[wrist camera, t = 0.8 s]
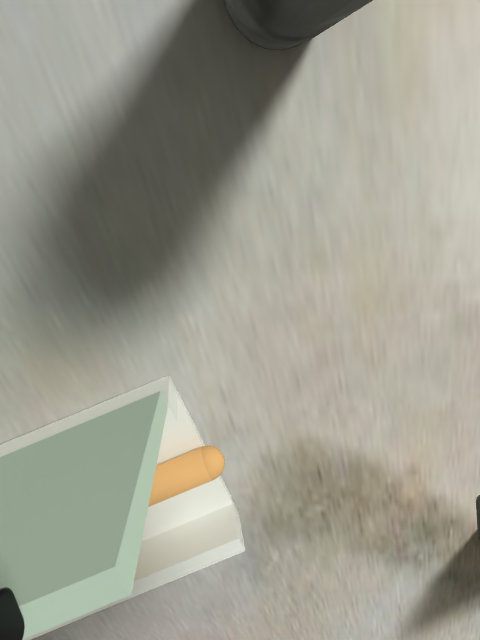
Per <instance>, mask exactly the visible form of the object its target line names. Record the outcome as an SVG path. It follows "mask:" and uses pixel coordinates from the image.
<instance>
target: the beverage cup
mask: <svg viewBox="0 0 480 640" xmlns="http://www.w3.org/2000/svg"><path fill="white" fill-rule="evenodd" d="M371 1H372V0H225V4H226V8H227V11H228V13H229V15H230V17H231V18H232V20H233V22H234V24H235V26H236V28H237V29H238V30H239V31H240V32H241V33H242V34H243V35H244V36H245V37H246V38H247V39H248V40H249V41H251V42H253V43H255V44H257V45H259V46H261V47H263V48H267V49H277V50H283V49H287V48H290V47H294V46H298V45H299V44H300V43H302V42H304V41H307V40H311V39H312V38H314V37H315V36H317V35H319V34H320V33H322V32H323V31H325V30H326V29H328V28H330V27H331V26H333V25H334V24H336V23H338V22H339V21H341V20H342V19H344V18H346V17H347V16H349V15H350V14H352V13H353V12H355V11H357V10H358V9H360V8H361V7H363V6H365V5H366V4H368V3H369V2H371Z"/></svg>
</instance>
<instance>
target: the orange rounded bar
mask: <svg viewBox="0 0 480 640" xmlns="http://www.w3.org/2000/svg"><path fill="white" fill-rule="evenodd" d="M224 465H225V461H224V456H223V454H222V453H221V451H220V450H219V449H217V448H216V447H213V446H203V447H200V448H198V449H195V450H193V451H191V452H188V453H186V454H183V455H181V456H179V457H176V458H174V459H171V460H169V461H166V462H164V463H162V464H159V465H157V466H156V470H155V475H154V480H153V485H152V491H151V496H150V501H149V506H148V507H150V506H152V505H154V504H157V503H159V502H162V501H164V500H167V499H169V498H171V497H174V496H176V495H179V494H181V493H183V492H186V491H188V490H191V489H193V488H196V487H198V486H200V485H203V484H205V483H208V482H210V481H212V480H214V479H216V478H218V477H219V476H220V475H221V473H222V472H223V469H224Z"/></svg>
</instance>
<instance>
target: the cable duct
mask: <svg viewBox="0 0 480 640" xmlns="http://www.w3.org/2000/svg"><path fill="white" fill-rule="evenodd" d="M159 391H161V393H162V395H163V397H164V399H165V401H166V403H167V405H168V408H167V413H166V419H165V424H164V429H163V434H162V439H161V444H160V449H159V455H158V460H157V465H159V464H162V463H164V462H166V461H169V460H171V459H174V458H176V457H179V456H181V455H183V454H186V453H188V452H191V451H193V450H195V449H198V448H200V447H203V446H205V444H204V442H203V440H202V438H201V436H200V434H199V432H198V430H197V428H196V426H195V424H194V422H193V420H192V418H191V416H190V414H189V413H188V411H187V409H186V407H185V405H184V403H183V401H182V399H181V397H180V395H179V393H178V391H177V389H176V387H175V385H174V383H173V381H172V379H171V377H170V375H168V376H165V377H163V378H160V379H158V380H155V381H153V382H151V383H148V384H146V385H143V386H141V387H139V388H136V389H134V390H131V391H129V392H126V393H124V394H122V395H119V396H117V397H114V398H112V399H109V400H107V401H105V402H102V403H100V404H97V405H95V406H93V407H90V408H88V409H85V410H83V411H80V412H78V413H76V414H73V415H71V416H68V417H66V418H63V419H61V420H59V421H56V422H54V423H51V424H49V425H47V426H44V427H42V428H39V429H37V430H34V431H32V432H30V433H27V434H25V435H22V436H20V437H17V438H15V439H13V440H10V441H8V442H5V443H3V444H1V445H0V457H2V456H4V455H6V454H9V453H11V452H14V451H16V450H19V449H21V448H23V447H26V446H28V445H31V444H33V443H36V442H38V441H40V440H43V439H45V438H48V437H50V436H52V435H55V434H57V433H60V432H62V431H65V430H67V429H69V428H72V427H74V426H77V425H79V424H82V423H84V422H86V421H89V420H91V419H94V418H96V417H98V416H101V415H103V414H106V413H108V412H111V411H113V410H115V409H118V408H120V407H123V406H125V405H127V404H130V403H132V402H135V401H137V400H140V399H142V398H144V397H147V396H149V395H152V394H154V393H157V392H159ZM157 465H156V466H157ZM244 551H245V547H244V541H243V535H242V530H241V524H240V519H239V513H238V508H237V506H236V504H235V502H234V501H233V499H232V497H231V495H230V493H229V491H228V489H227V487H226V485H225V483H224V481H223V479H222V477H221V475H220V476H219V477H218V478H216V479H214V480H212V481H210V482H208V483H205V484H203V485H200V486H198V487H196V488H193V489H191V490H188V491H186V492H183V493H181V494H179V495H176V496H174V497H171V498H169V499H167V500H164V501H162V502H159V503H157V504H154V505H152V506H150V507H148V511H147V516H146V521H145V527H144V532H143V537H142V542H141V547H140V552H139V557H138V563H137V568H136V573H135V578H134V583H133V588H132V593H131V595H129V596H127V597H125V598H122V599H120V600H117V601H115V602H112V603H110V604H108V605H105V606H103V607H100V608H98V609H96V610H93V611H91V612H88V613H86V614H83V615H81V616H79V617H76V618H74V619H71V620H69V621H67V622H64V623H62V624H59V625H57V626H55V627H52V628H50V629H47V630H45V631H42V632H40V633H38V634H35V635H33V636H30V637H28V638H26V639H23V640H31V639H34V638H36V637H38V636H41V635H43V634H46V633H48V632H50V631H53V630H55V629H58V628H60V627H62V626H65V625H67V624H70V623H72V622H75V621H77V620H79V619H82V618H84V617H87V616H89V615H91V614H94V613H96V612H99V611H101V610H104V609H106V608H108V607H111V606H113V605H116V604H118V603H120V602H123V601H125V600H128V599H130V598H133V597H135V596H137V595H140V594H142V593H145V592H147V591H149V590H152V589H154V588H157V587H159V586H161V585H164V584H166V583H169V582H171V581H174V580H176V579H178V578H181V577H183V576H186V575H188V574H190V573H193V572H195V571H198V570H200V569H203V568H205V567H207V566H210V565H212V564H215V563H217V562H219V561H222V560H224V559H227V558H229V557H232V556H234V555H236V554H239V553H241V552H244Z"/></svg>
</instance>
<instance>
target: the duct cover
mask: <svg viewBox="0 0 480 640" xmlns="http://www.w3.org/2000/svg"><path fill="white" fill-rule="evenodd" d="M167 408H168V405H167V403H166V401H165V399H164V397H163V395H162V393H161V391H159V392H157V393H154V394H152V395H149V396H147V397H144V398H142V399H140V400H137V401H135V402H132V403H130V404H127V405H125V406H123V407H120V408H118V409H115V410H113V411H111V412H108V413H106V414H103V415H101V416H98V417H96V418H94V419H91V420H89V421H86V422H84V423H82V424H79V425H77V426H74V427H72V428H69V429H67V430H65V431H62V432H60V433H57V434H55V435H52V436H50V437H48V438H45V439H43V440H40V441H38V442H36V443H33V444H31V445H28V446H26V447H23V448H21V449H19V450H16V451H14V452H11V453H9V454H6V455H4V456H2V457H0V588H4V587H7V588H10V589H11V590H12V591H13V593H14V596H15V598H16V601H17V603H18V606H19V608H20V611H21V613H22V616H23V618H24V624H25V630H24V636H23V639H26V638H28V637H30V636H33V635H35V634H38V633H40V632H42V631H45V630H47V629H50V628H52V627H55V626H57V625H59V624H62V623H64V622H67V621H69V620H71V619H74V618H76V617H79V616H81V615H83V614H86V613H88V612H91V611H93V610H96V609H98V608H100V607H103V606H105V605H108V604H110V603H112V602H115V601H117V600H120V599H122V598H125V597H127V596H129V595H131V593H132V588H133V583H134V578H135V573H136V568H137V563H138V557H139V552H140V547H141V542H142V537H143V532H144V527H145V521H146V516H147V511H148V506H149V501H150V496H151V491H152V485H153V480H154V475H155V470H156V465H157V460H158V455H159V449H160V444H161V439H162V434H163V429H164V424H165V419H166V413H167ZM23 639H22V640H23Z"/></svg>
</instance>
